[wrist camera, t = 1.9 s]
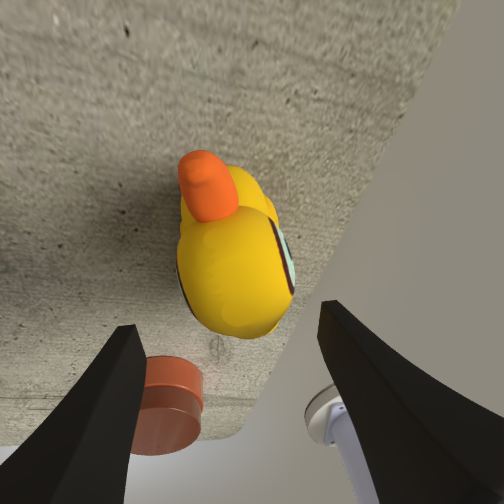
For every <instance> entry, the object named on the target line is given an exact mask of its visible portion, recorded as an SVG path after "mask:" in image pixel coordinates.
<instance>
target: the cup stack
mask: <svg viewBox="0 0 504 504" xmlns="http://www.w3.org/2000/svg"><path fill="white" fill-rule="evenodd" d="M202 411H203V376H202V373H201V372H200V370H199V369H198V368H197V367H196V366H195V365H194V364H192V363H190V362H189V361H186V360H184V359H181V358H177V357H169V356H158V357H150V358H147V367H146V378H145V387H144V392H143V397H142V402H141V406H140V411H139V416H138V420H137V425H136V429H135V434H134V438H133V443H132V448H131V452H130V453H132V454H137V455H147V456H148V455H149V456H153V455H163V454H169V453H173V452H176V451H179V450H181V449H184V448H186V447H187V446H189V445H190V444H192V443H193V442H194V441H195V440H196V439H197V438H198V436H199V434H200V432H201V414H202Z"/></svg>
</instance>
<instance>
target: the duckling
mask: <svg viewBox="0 0 504 504" xmlns="http://www.w3.org/2000/svg"><path fill="white" fill-rule="evenodd" d="M178 178H179V185H180V189H181V192H182V198H181V216H182V222H181V224H180V234H181V239H180V241H179V244H178V248H177V253H176V274H177V279H178V284H179V288H180V291H181V294H182V296H183V298H184V301H185V303H186V305H187V306H188V308H189V310H190V311H191V313H192V314H193V315H194V317H195V318H196V319H197V320H198V321H199V322H200V323H201V324H203V325H204V326H205V327H207V328H208V329H210V330H212V331H214V332H216V333H219V334H222V335H227V336H233V337H237V338H240V339H255V338H259V337H262V336H265V335H267V334H269V333H271V332H272V331H273V330H274V329H275V328H276V327H277V325H278V323H279V320H280V319H281V318H282V317H283V315H284V314H285V313H286V311H287V310H288V308H289V306H290V304H291V301H292V298H293V294H294V288H295V272H294V265H293V260H292V256H291V253H290V250H289V247H288V244H287V242H286V240H285V238H284V236H283V234H282V232H281V231H280V229H279V222H278V217H277V214H276V211H275V208H274V206H273V204H272V202H271V201H270V199H269V198H268V197H267V196H265V195H263V192H262V190H261V188H260V186H259V185H258V183H257V182H256V181H255V179H254V178H253V177H252V176H251V175H250V174H249V173H248V172H246V171H245V170H243V169H241V168H239V167H236V166H232V165H225V164H224V162H223V161H222V160H220V159H219V158H218V157H217V156H216V155H214V154H212V153H210V152H208V151H204V150H197V151H193V152H190V153H188V154H186V155H185V156H183V157H182V158H181V160H180V162H179V165H178Z"/></svg>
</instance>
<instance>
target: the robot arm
mask: <svg viewBox="0 0 504 504" xmlns="http://www.w3.org/2000/svg"><path fill="white" fill-rule="evenodd" d="M317 339H318V342H319V345H320V349H321V352H322V355H323V358H324V361H325V363H326V366H327V368H328V370H329V372H330V374H331V377H332V379H333V381H334V383H335V386H336V388H337V390H338V392H339V394H340V397H341V399H342V401H343V402H337V403H333V404H332V405H331V407H330V412H329V417H328V422H327V426H326V431H325V436H324V444H325V445H332V444H336V445H337V448H338V451H339V453H340V456H341V459H342V462H343V465H344V467H345V470H346V473H347V476H348V478H349V481H350V484H351V487H352V490H353V493H354V495H355V498H356V501H357V504H504V418H503V417H501V416H499V415H497V414H495V413H493V412H491V411H489V410H488V409H486V408H484V407H482V406H480V405H478V404H477V403H475V402H473V401H471V400H469V399H468V398H466V397H464V396H462V395H461V394H459V393H457V392H456V391H454V390H452V389H451V388H449V387H447V386H446V385H444V384H442V383H441V382H439V381H438V380H436V379H435V378H433V377H431V376H430V375H428V374H427V373H425V372H424V371H423V370H421V369H420V368H418V367H417V366H415V365H413V364H412V363H411V362H410V361H408V360H407V359H405V358H404V357H402V356H401V355H400V354H399V353H398V352H396V351H395V350H394V349H392V348H391V347H390V346H389V345H387V344H386V343H385V342H384V341H382V340H381V339H380V338H379V337H378V336H376V335H375V334H374V333H373V332H372V331H371V330H369V329H368V328H367V327H366V326H365V325H364V324H363V323H361V322H360V321H359V320H358V319H357V318H356V317H355V316H354V315H353V314H351V313H350V312H349V311H348V310H347V309H346V308H345V307H344V306H343V305H342V304H340V303H339V302H338V301H337V300H332V301H324V302H322V304H321V312H320V319H319V326H318V334H317ZM146 367H147V358H146V355H145V352H144V349H143V346H142V343H141V340H140V337H139V334H138V331H137V328H136V325H135V324H133V325H124V326H118V327H117V328H116V329H115V331H114V332H113V334H112V335H111V336H110V338H109V339H108V341H107V342H106V344H105V345H104V346H103V348H102V349H101V351H100V352H99V353H98V355H97V356H96V357H95V359H94V360H93V362H92V363H91V364H90V365H89V367H88V368H87V369H86V371H85V372H84V373H83V375H82V376H81V377H80V379H79V380H78V381H77V382H76V384H75V385H74V386H73V387H72V389H71V390H70V391H69V392H68V393H67V395H66V396H65V397H64V398H63V400H62V401H61V402H60V403H59V404H58V406H57V407H56V408H55V409H54V410H53V411H52V412H51V414H50V415H49V416H48V417H47V418H46V419H45V420H44V421H43V422H42V424H41V425H40V426H39V427H38V428H37V429H36V430H35V431H34V432H33V433H32V434H31V435H30V436H29V437H28V438H27V439H26V440H25V441H24V442H23V443H22V444H21V445H20V446H19V447H18V449H17V450H16V451H15V452H14V453H13V454H12V455H11V456H9V458H8V459H6V460H5V461H4V462H3V463H2V465H0V504H123V503H124V494H125V486H126V478H127V470H128V463H129V458H130V452H131V448H132V443H133V438H134V434H135V429H136V425H137V420H138V416H139V411H140V406H141V402H142V397H143V392H144V387H145V378H146Z"/></svg>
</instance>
